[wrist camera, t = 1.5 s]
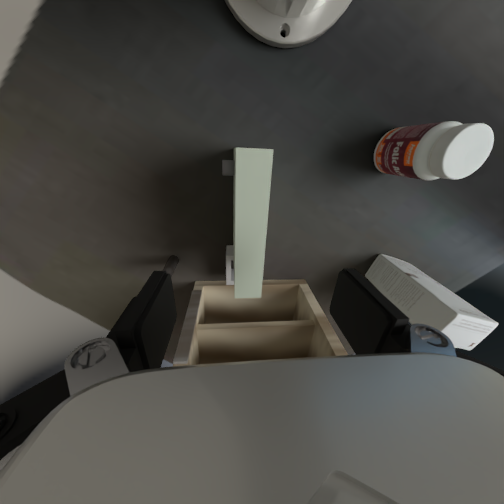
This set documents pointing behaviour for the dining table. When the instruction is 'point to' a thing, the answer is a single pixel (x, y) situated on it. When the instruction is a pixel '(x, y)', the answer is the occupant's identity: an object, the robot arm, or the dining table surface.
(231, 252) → the door
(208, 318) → the cabinet
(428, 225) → the dining table surface
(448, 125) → the pill bottle
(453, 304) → the skincare box
